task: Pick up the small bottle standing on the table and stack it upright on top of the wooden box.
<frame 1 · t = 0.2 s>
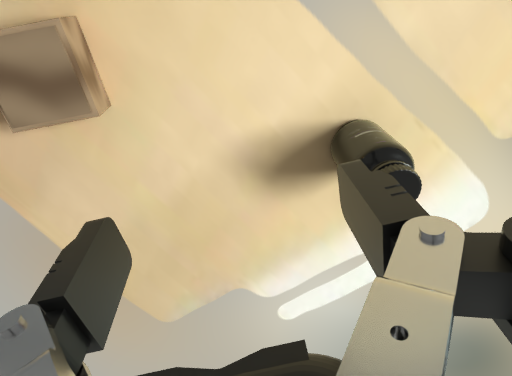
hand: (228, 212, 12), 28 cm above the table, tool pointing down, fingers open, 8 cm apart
supplement bottle: (355, 143, 42), on the table
wooden box: (52, 71, 35), on the table
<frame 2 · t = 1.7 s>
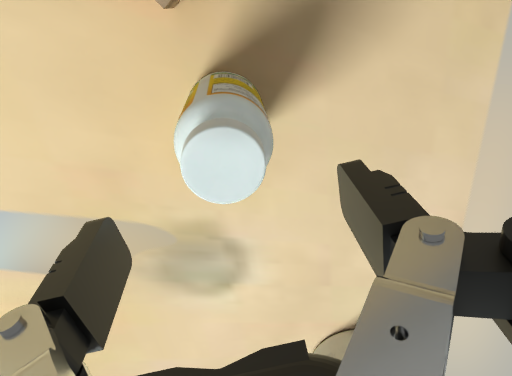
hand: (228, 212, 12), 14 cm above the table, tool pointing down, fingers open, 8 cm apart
supplement bottle 2: (224, 108, 24), on the table
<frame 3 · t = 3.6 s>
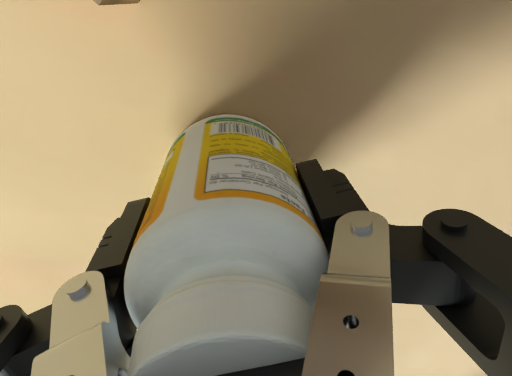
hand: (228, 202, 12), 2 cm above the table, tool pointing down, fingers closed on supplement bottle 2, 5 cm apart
supplement bottle 2: (228, 170, 15), on the table, touching gripper
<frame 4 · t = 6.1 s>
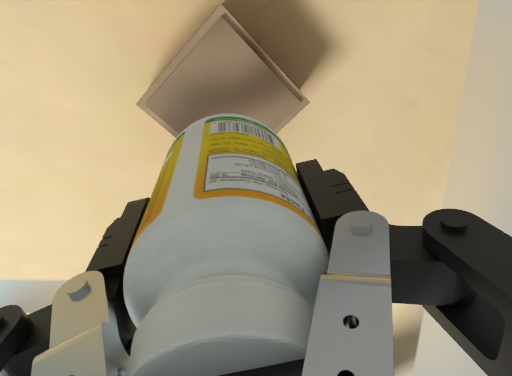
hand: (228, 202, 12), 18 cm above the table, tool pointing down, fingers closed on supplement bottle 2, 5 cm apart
supplement bottle 2: (227, 169, 15), point 15 cm above the table, touching gripper
wooden box: (224, 90, 28), on the table
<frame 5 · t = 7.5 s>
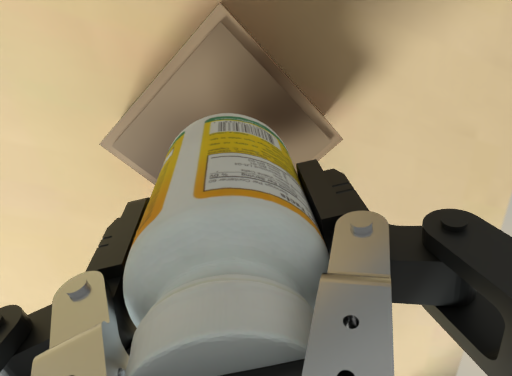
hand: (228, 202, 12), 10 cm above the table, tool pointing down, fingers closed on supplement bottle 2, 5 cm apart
supplement bottle 2: (227, 169, 15), point 7 cm above the table, touching gripper
wooden box: (224, 118, 21), on the table
when the fingers open (8 cm above the table, at t = 8.8 s): supplement bottle 2 moves 1 cm, resting on wooden box.
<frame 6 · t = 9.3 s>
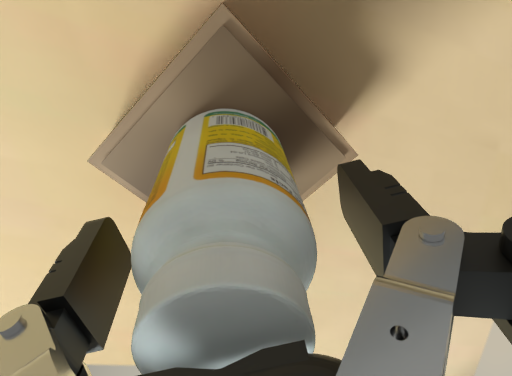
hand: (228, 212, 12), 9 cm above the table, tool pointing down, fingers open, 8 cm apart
supplement bottle 2: (225, 161, 16), point 4 cm above the table, touching wooden box
wooden box: (226, 129, 19), on the table
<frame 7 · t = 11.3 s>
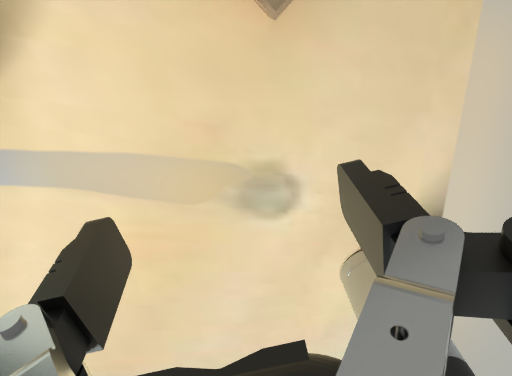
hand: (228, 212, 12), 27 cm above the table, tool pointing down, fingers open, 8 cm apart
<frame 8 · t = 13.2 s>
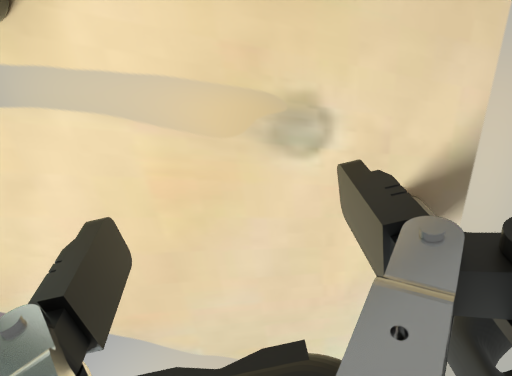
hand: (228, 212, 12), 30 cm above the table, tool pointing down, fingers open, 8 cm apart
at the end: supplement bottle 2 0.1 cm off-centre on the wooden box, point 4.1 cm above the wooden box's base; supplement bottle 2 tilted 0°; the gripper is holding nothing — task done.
